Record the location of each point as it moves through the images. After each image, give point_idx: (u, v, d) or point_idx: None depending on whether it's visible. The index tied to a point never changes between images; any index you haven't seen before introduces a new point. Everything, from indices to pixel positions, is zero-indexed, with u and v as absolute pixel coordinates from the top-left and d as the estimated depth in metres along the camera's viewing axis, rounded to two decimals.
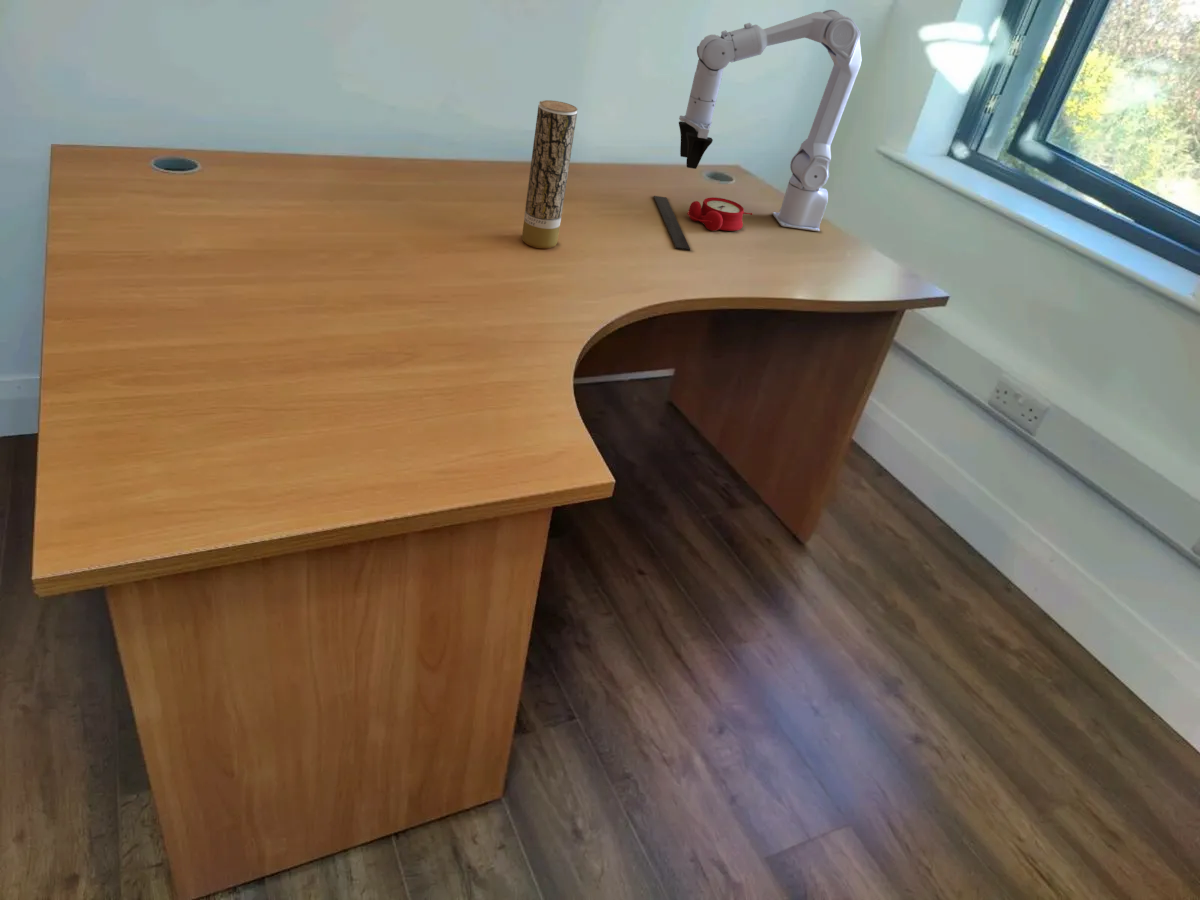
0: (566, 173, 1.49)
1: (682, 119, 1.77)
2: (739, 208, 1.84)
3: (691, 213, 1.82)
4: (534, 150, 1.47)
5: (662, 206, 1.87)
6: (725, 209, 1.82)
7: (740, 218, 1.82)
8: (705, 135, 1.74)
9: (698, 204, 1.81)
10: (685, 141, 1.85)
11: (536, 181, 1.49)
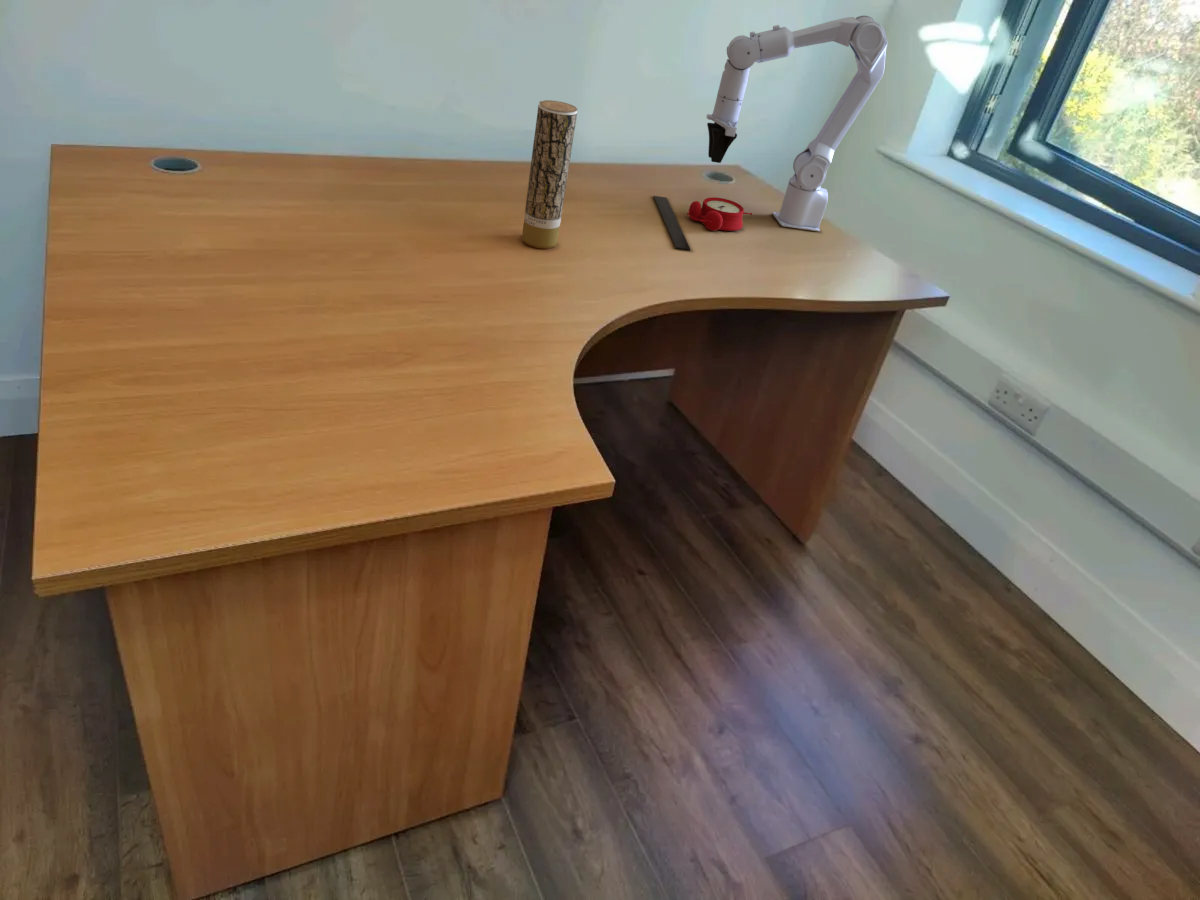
0: (566, 173, 1.49)
1: (709, 118, 1.82)
2: (739, 208, 1.84)
3: (691, 213, 1.82)
4: (534, 150, 1.47)
5: (662, 206, 1.87)
6: (725, 209, 1.82)
7: (740, 218, 1.82)
8: (732, 133, 1.78)
9: (698, 204, 1.81)
10: None
11: (536, 181, 1.49)
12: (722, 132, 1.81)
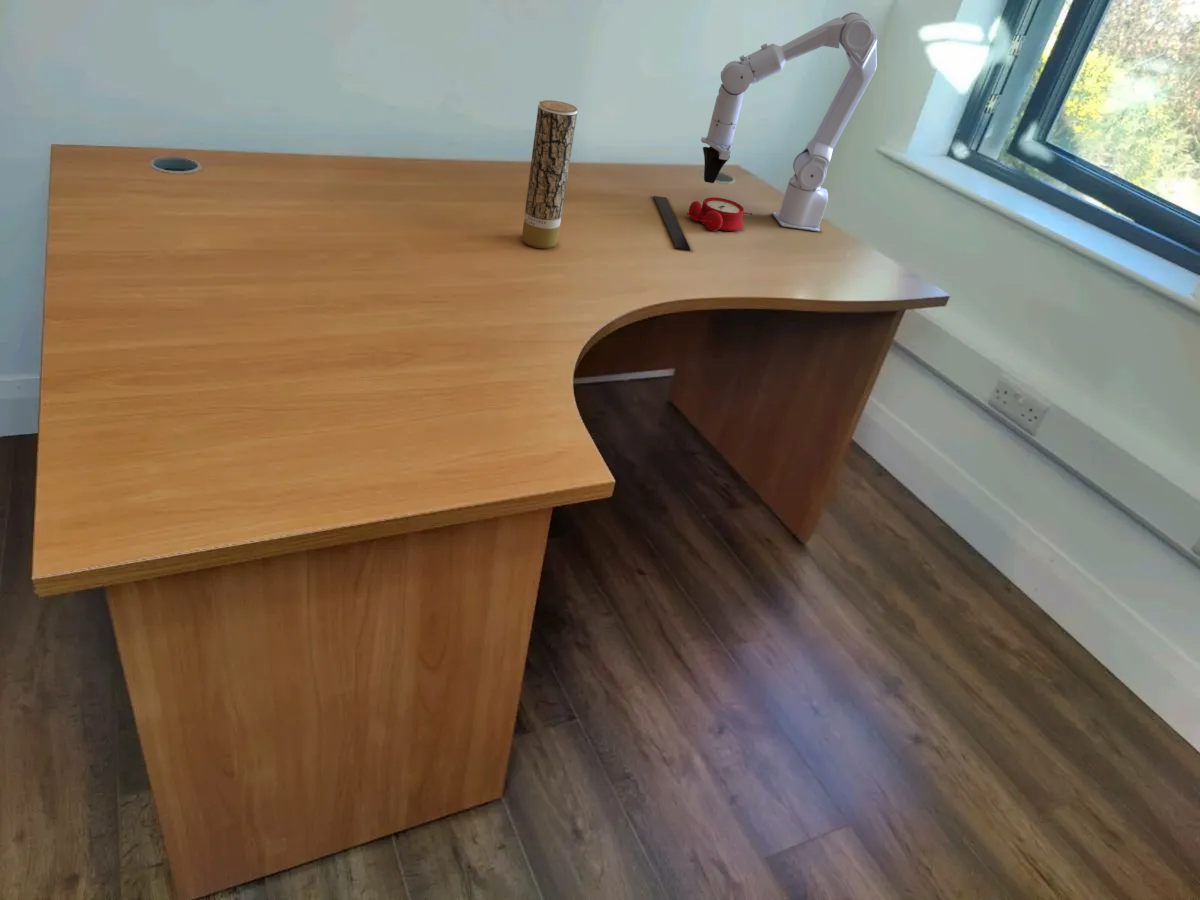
0: (566, 173, 1.49)
1: (704, 141, 1.85)
2: (739, 208, 1.84)
3: (691, 213, 1.82)
4: (534, 150, 1.47)
5: (662, 206, 1.87)
6: (725, 209, 1.82)
7: (740, 218, 1.82)
8: (726, 157, 1.81)
9: (698, 204, 1.81)
10: None
11: (536, 181, 1.49)
12: (715, 153, 1.85)
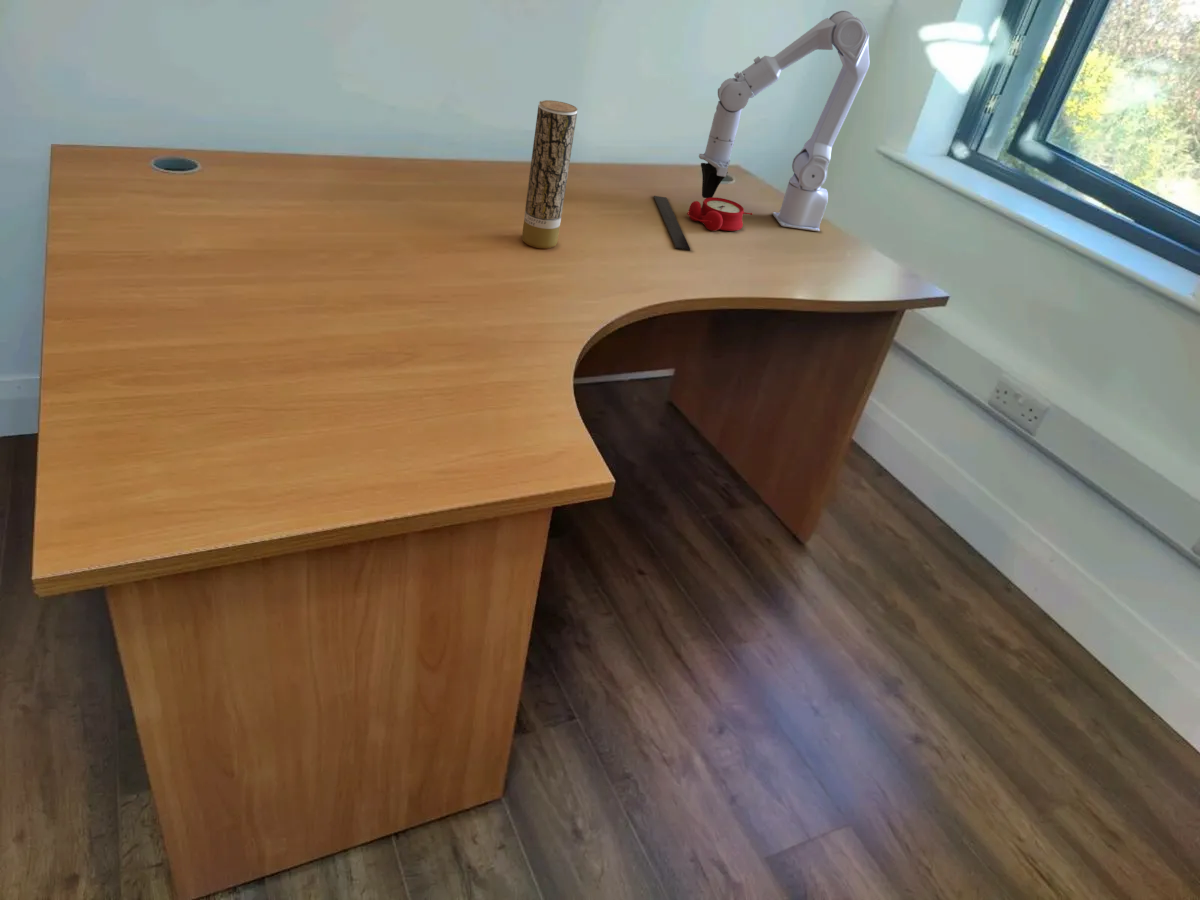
0: (566, 173, 1.49)
1: (702, 157, 1.85)
2: (739, 208, 1.84)
3: (691, 213, 1.82)
4: (534, 150, 1.47)
5: (662, 206, 1.87)
6: (725, 209, 1.82)
7: (740, 218, 1.82)
8: (724, 173, 1.82)
9: (698, 204, 1.81)
10: None
11: (536, 181, 1.49)
12: (713, 170, 1.86)
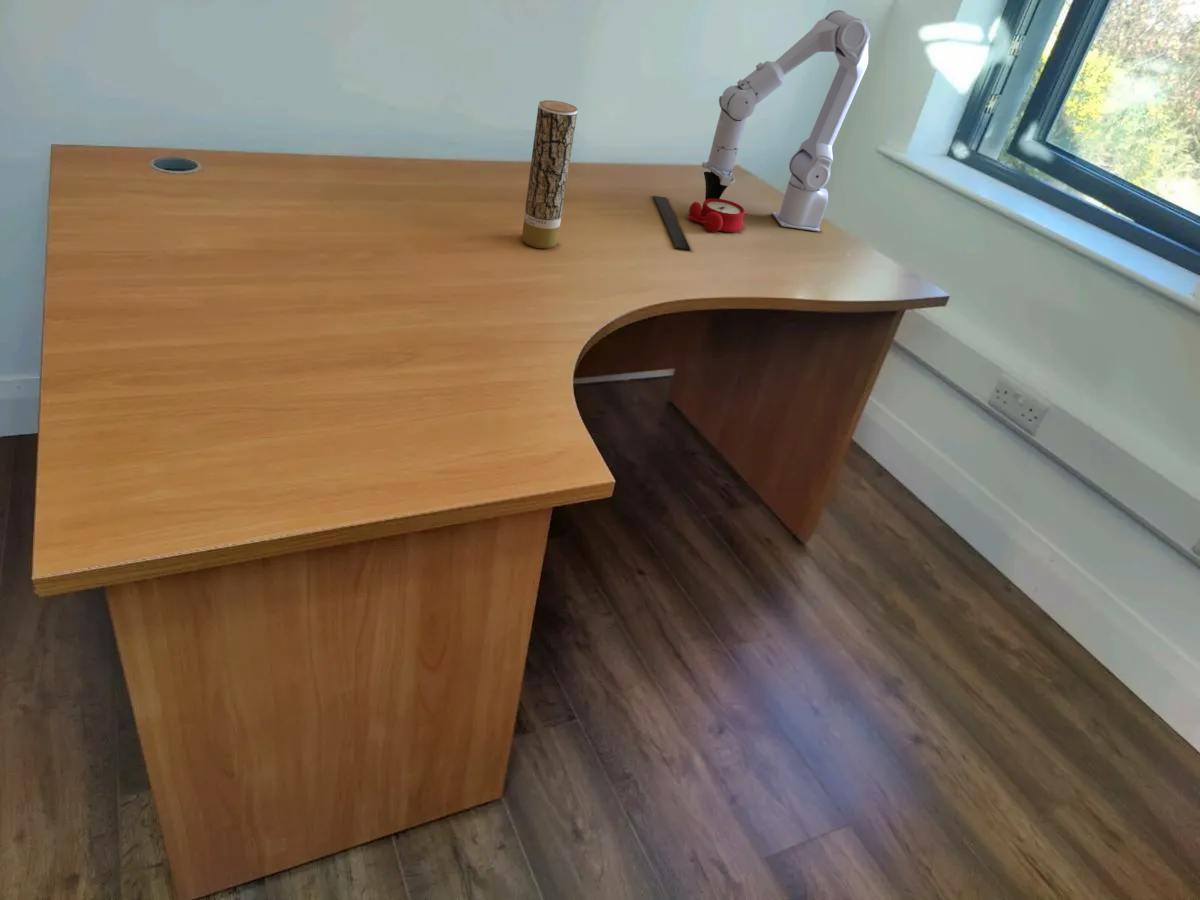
0: (566, 173, 1.49)
1: (705, 166, 1.82)
2: (740, 209, 1.84)
3: (691, 214, 1.82)
4: (534, 150, 1.47)
5: (662, 206, 1.87)
6: (725, 210, 1.82)
7: (740, 219, 1.82)
8: (728, 183, 1.78)
9: (698, 205, 1.81)
10: None
11: (536, 181, 1.49)
12: (716, 179, 1.83)
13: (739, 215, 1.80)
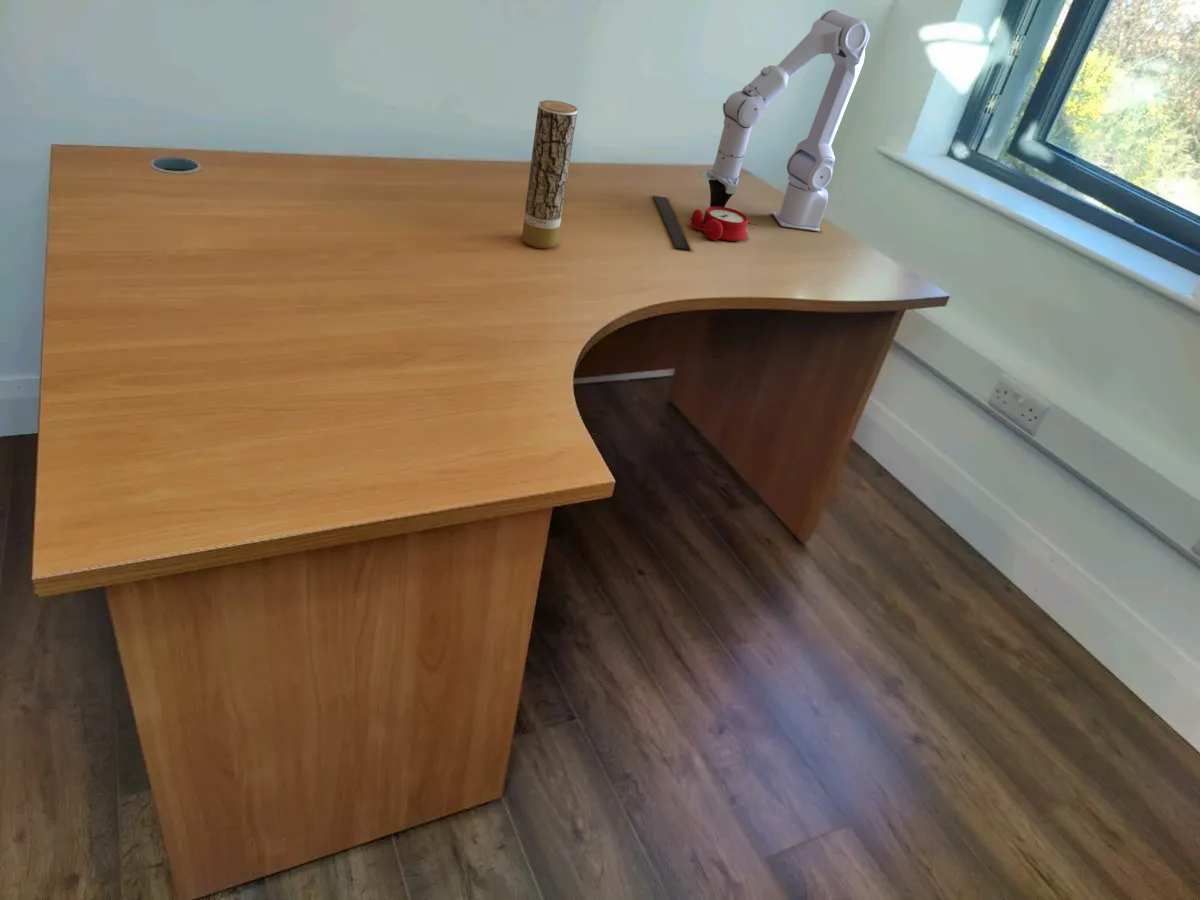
0: (566, 173, 1.49)
1: (710, 174, 1.78)
2: (743, 218, 1.79)
3: (693, 221, 1.78)
4: (534, 150, 1.47)
5: (662, 206, 1.87)
6: (728, 218, 1.78)
7: (743, 228, 1.77)
8: (733, 191, 1.74)
9: (700, 212, 1.77)
10: None
11: (536, 181, 1.49)
12: (721, 187, 1.78)
13: (741, 224, 1.76)
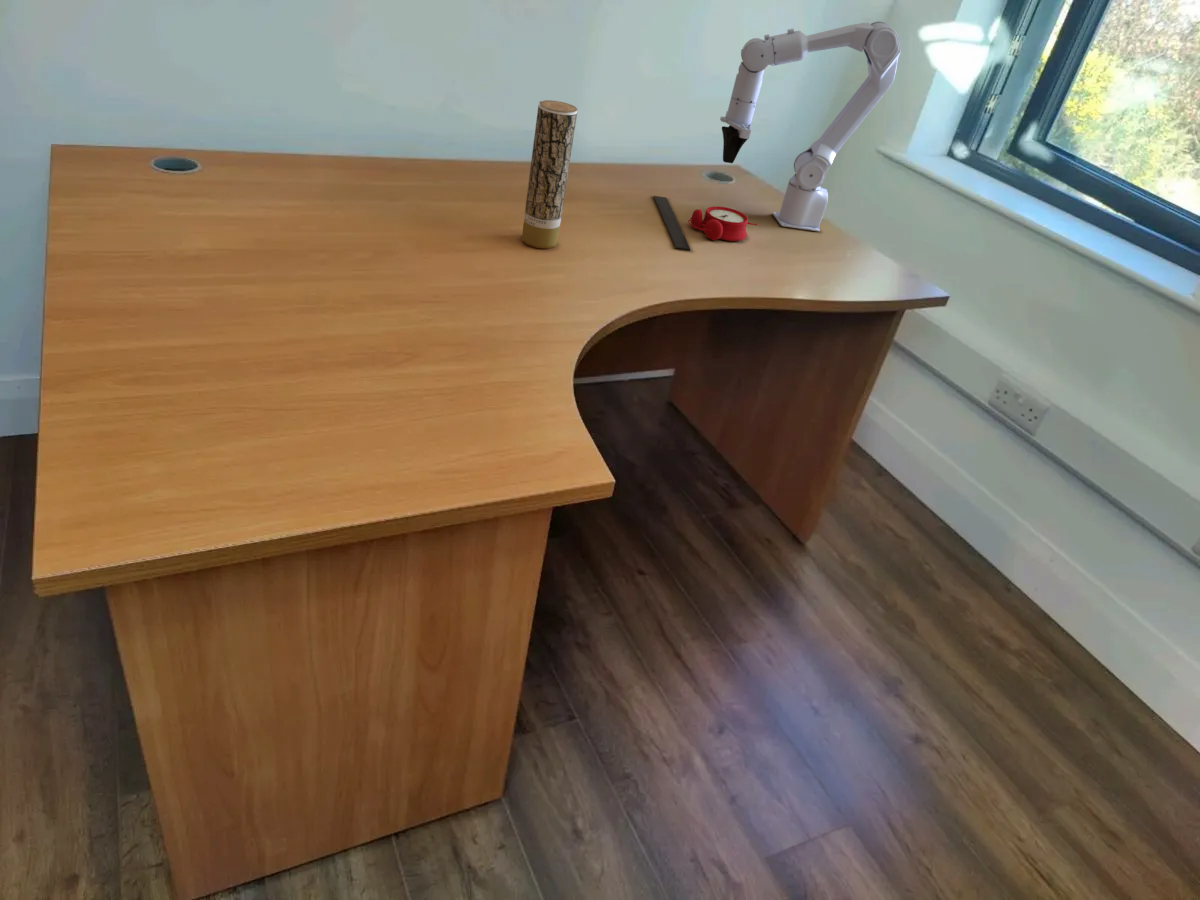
0: (566, 173, 1.49)
1: (723, 120, 1.82)
2: (743, 218, 1.79)
3: (693, 221, 1.78)
4: (534, 150, 1.47)
5: (662, 206, 1.87)
6: (728, 218, 1.78)
7: (743, 228, 1.77)
8: (747, 135, 1.79)
9: (700, 212, 1.77)
10: None
11: (536, 181, 1.49)
12: (735, 133, 1.83)
13: (741, 224, 1.76)
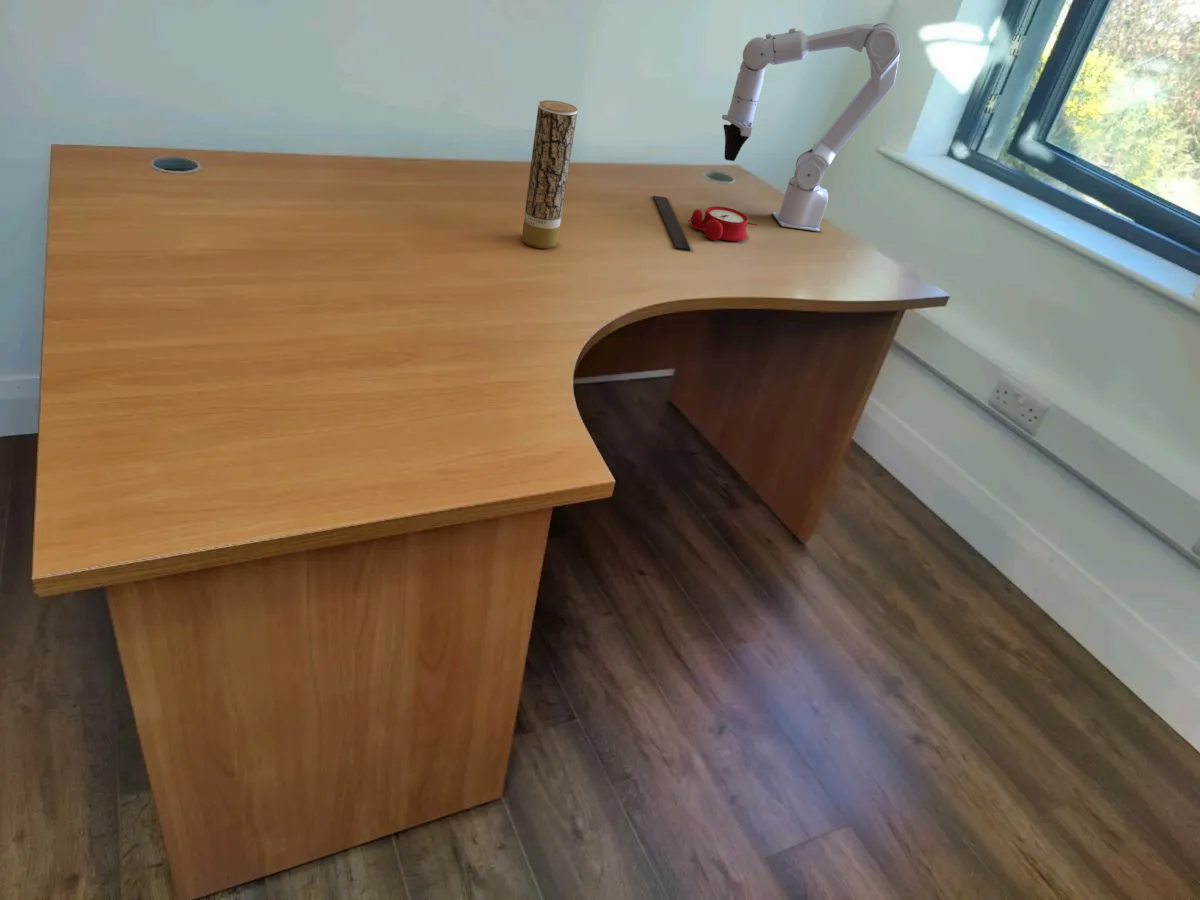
0: (566, 173, 1.49)
1: (725, 118, 1.84)
2: (743, 218, 1.79)
3: (693, 221, 1.78)
4: (534, 150, 1.47)
5: (662, 206, 1.87)
6: (728, 218, 1.78)
7: (743, 228, 1.77)
8: (748, 133, 1.80)
9: (700, 212, 1.77)
10: None
11: (536, 181, 1.49)
12: (736, 131, 1.84)
13: (741, 224, 1.76)
